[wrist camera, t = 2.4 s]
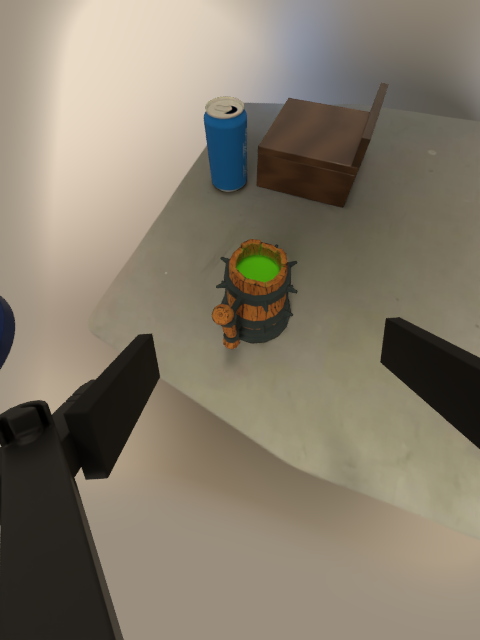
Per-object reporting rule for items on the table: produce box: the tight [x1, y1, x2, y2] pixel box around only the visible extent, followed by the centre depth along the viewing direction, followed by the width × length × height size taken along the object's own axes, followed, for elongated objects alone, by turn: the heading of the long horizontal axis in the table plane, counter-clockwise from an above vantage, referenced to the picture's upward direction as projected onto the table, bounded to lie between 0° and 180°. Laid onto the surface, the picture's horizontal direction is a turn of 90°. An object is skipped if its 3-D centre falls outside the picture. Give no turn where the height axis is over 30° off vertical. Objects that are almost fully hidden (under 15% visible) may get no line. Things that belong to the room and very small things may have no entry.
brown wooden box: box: [257, 83, 388, 207], centre depth 44 cm, size 16×16×11 cm
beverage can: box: [204, 97, 247, 192], centre depth 42 cm, size 6×6×12 cm
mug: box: [212, 239, 298, 349], centre depth 30 cm, size 13×10×12 cm
